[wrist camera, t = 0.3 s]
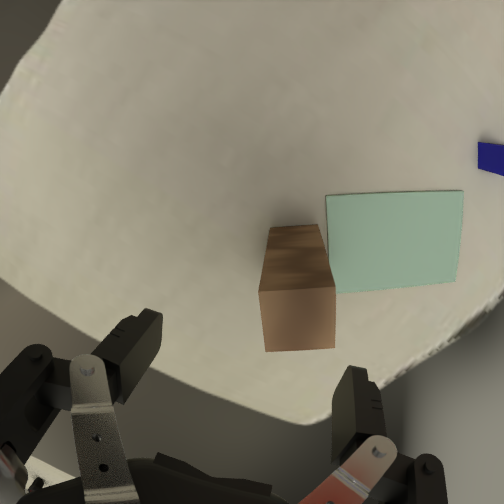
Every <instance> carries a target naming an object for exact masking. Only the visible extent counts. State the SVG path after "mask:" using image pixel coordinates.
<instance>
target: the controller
mask: <svg viewBox="0 0 504 504" xmlns="http://www.w3.org/2000/svg"><path fill="white" fill-rule="evenodd" d="M43 485H44V482H43V481H42V480H41V479H40V478H36V479H35V480H34V482H33V483H32V485H31V486H30V487H29V489H28V491H29V492H31V491H34V490H38V489H42V487H43Z"/></svg>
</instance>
